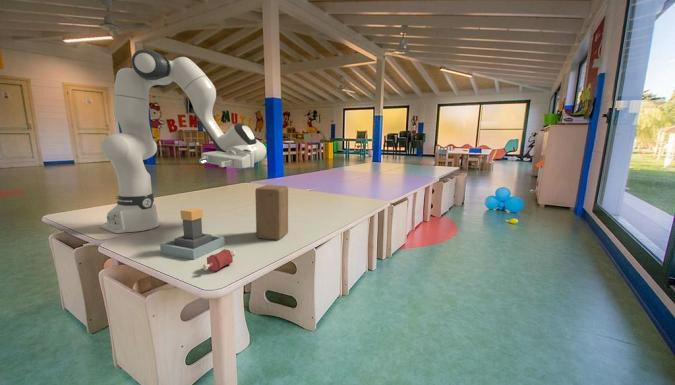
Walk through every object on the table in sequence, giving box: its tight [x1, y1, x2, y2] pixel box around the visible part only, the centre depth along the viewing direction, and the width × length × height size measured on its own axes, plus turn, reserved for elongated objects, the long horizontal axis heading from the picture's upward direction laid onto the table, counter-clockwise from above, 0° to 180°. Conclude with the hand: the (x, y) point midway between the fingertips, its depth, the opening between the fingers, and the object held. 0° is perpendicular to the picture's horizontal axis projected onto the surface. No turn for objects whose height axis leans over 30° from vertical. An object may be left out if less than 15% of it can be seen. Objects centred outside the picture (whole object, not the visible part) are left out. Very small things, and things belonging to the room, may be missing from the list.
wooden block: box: [255, 184, 289, 241], centre depth 112 cm, size 10×10×20 cm
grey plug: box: [180, 207, 204, 240], centre depth 96 cm, size 5×5×14 cm
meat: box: [202, 248, 236, 272], centre depth 84 cm, size 12×5×5 cm, turn 158°
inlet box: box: [159, 232, 226, 261], centre depth 97 cm, size 14×14×4 cm
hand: (210, 163), depth 103 cm, fingers open, 8 cm apart
